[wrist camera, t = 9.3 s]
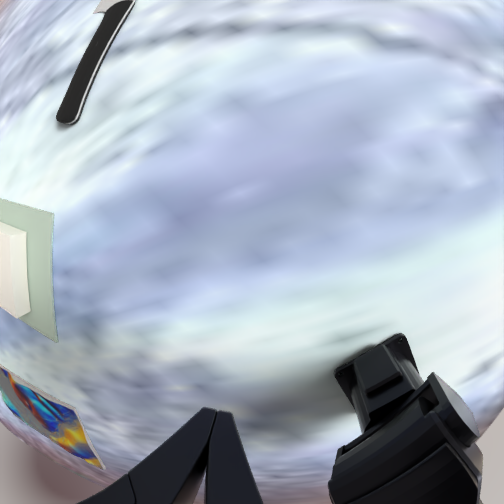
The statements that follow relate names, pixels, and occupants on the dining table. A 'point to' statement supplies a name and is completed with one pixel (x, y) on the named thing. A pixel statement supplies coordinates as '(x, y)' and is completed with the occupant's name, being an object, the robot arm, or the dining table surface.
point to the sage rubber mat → (36, 263)
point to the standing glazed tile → (13, 271)
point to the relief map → (47, 416)
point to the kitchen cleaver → (93, 58)
